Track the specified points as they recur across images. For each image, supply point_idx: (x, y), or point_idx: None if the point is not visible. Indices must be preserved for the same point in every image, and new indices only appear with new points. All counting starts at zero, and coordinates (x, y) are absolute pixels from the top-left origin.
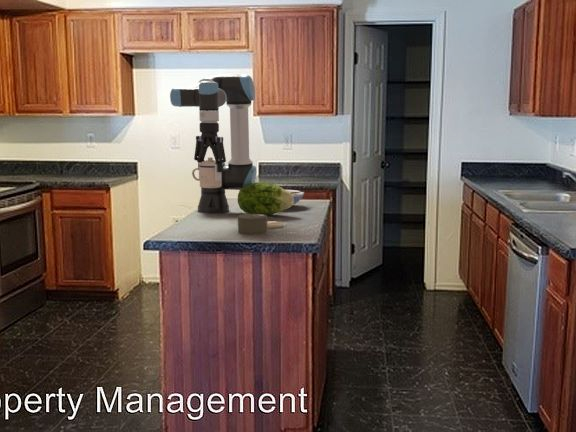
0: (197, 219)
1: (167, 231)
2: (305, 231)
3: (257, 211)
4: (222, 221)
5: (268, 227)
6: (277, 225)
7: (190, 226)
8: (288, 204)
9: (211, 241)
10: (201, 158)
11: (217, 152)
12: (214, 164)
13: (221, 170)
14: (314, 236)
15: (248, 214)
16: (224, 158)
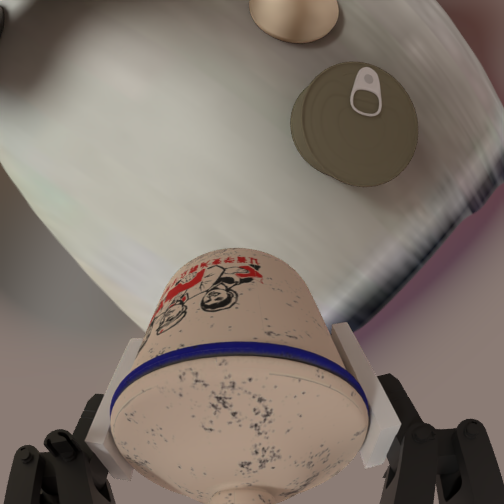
0: (25, 142)
1: (140, 322)
2: (424, 18)
3: None
4: (97, 84)
5: (321, 37)
6: (338, 14)
7: (105, 227)
8: None
9: (348, 308)
10: (107, 500)
11: None
12: (348, 461)
13: (397, 387)
14: (477, 65)
15: (312, 96)
16: (483, 454)
